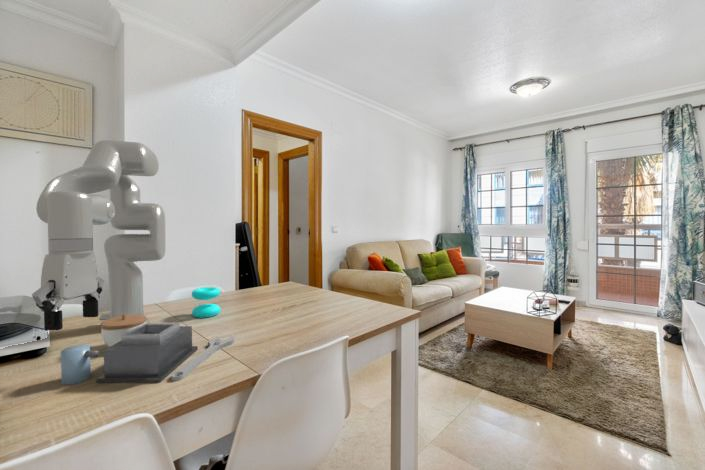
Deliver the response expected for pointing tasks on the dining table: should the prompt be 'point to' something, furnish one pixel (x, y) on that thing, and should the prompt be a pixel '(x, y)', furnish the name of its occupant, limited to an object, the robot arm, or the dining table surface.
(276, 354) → the dining table surface
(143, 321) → the lidded jar
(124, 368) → the grey open box
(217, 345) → the adjustable wrench
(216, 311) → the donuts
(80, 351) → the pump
